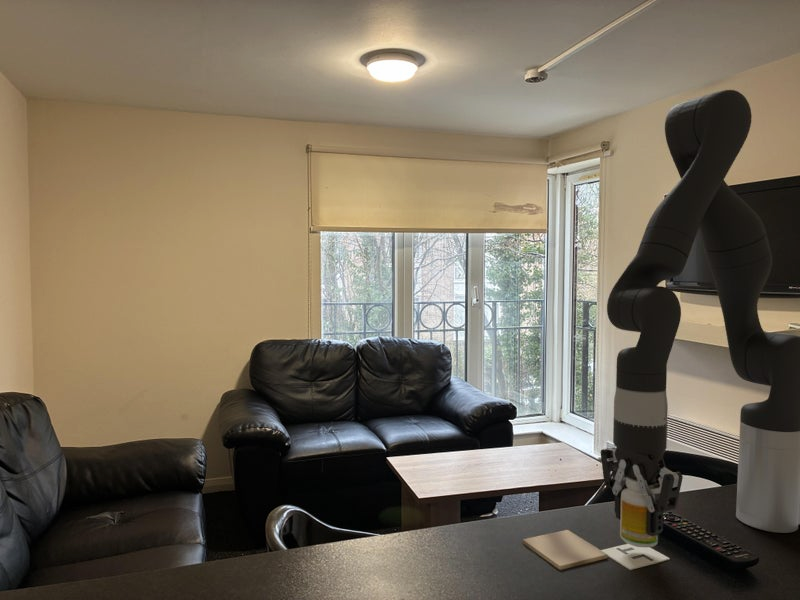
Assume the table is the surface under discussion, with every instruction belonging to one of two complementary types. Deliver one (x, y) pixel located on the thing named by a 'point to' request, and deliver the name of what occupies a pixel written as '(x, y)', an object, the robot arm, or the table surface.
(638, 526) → the supplement bottle
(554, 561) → the oak coaster
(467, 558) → the table surface
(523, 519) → the table surface
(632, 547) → the tile
